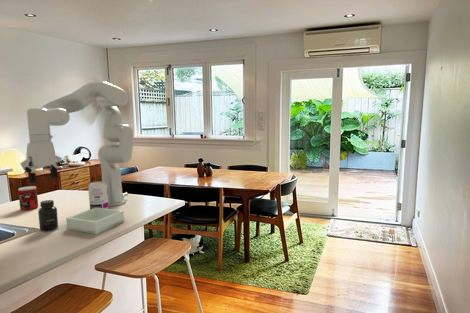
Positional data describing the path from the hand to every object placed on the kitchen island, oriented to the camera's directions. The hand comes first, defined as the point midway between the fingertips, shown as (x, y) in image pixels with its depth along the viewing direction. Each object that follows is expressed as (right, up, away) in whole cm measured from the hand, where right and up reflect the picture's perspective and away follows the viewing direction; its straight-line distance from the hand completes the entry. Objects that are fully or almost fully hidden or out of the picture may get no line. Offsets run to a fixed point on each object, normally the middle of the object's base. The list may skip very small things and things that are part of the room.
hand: (43, 180), depth 133 cm
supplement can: (+13, -18, +24) cm, 33 cm away
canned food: (-27, -17, +33) cm, 46 cm away
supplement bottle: (0, -21, +3) cm, 21 cm away
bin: (+19, -20, +6) cm, 28 cm away
